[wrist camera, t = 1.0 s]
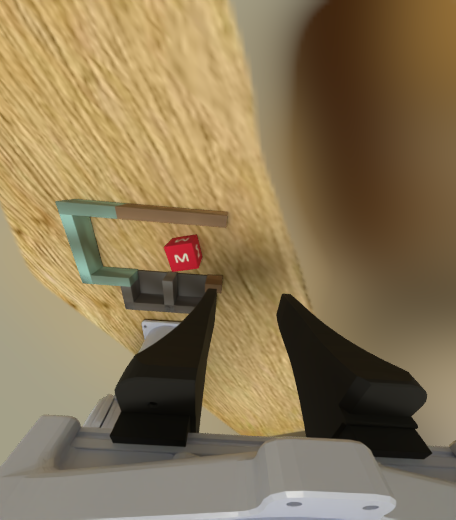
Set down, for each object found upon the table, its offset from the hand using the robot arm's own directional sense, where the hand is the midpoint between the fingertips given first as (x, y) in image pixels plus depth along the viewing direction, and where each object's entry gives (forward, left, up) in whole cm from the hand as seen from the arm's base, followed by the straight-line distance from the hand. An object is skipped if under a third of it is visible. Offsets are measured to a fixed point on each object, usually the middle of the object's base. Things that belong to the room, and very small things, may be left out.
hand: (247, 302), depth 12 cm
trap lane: (-2, +10, -9) cm, 14 cm away
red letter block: (0, +7, -10) cm, 12 cm away
